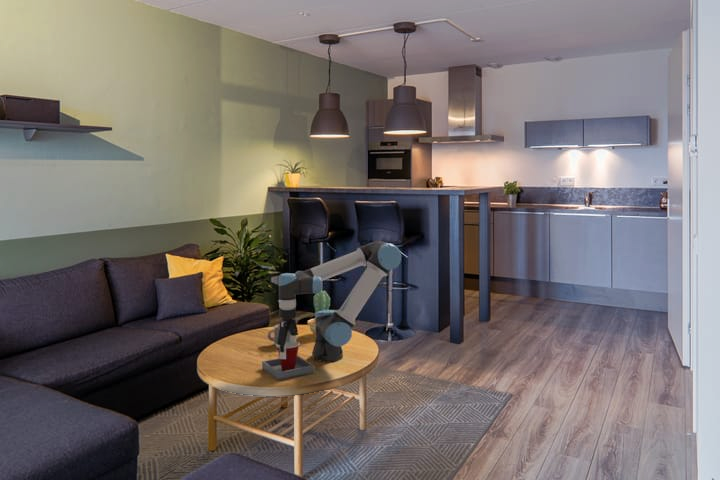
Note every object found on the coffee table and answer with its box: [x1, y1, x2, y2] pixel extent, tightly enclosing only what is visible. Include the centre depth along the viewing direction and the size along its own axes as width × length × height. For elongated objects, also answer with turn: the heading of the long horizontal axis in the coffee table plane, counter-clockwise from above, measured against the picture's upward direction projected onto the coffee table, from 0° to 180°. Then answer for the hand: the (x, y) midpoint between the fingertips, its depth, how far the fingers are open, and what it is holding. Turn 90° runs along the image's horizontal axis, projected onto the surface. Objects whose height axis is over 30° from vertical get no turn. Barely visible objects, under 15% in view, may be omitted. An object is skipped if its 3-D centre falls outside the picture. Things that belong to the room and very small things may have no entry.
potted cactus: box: [306, 290, 331, 338], centre depth 306 cm, size 15×15×25 cm
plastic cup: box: [275, 341, 301, 371], centre depth 250 cm, size 11×11×12 cm
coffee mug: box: [267, 323, 291, 347], centre depth 289 cm, size 13×10×10 cm
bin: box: [261, 354, 315, 381], centre depth 250 cm, size 18×18×4 cm
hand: (288, 354), depth 250 cm, fingers open, 13 cm apart
